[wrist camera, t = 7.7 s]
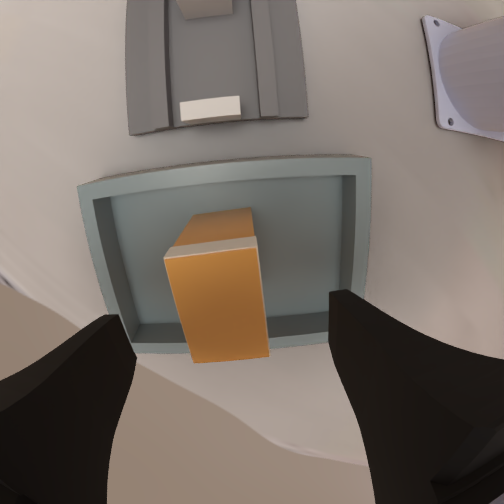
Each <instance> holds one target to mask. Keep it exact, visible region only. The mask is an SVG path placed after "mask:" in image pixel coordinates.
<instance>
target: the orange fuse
mask: <svg viewBox="0 0 504 504" xmlns="http://www.w3.org/2000/svg"><path fill="white" fill-rule="evenodd" d="M163 259H164V263H165V267H166V271H167V275H168V278H169V282H170V286H171V290H172V294H173V297H174V301H175V304H176V308H177V311H178V315H179V318H180V322H181V325H182V328H183V332H184V335H185V338H186V341H187V344H188V348H189V351H190V354H191V357H192V360H193V363H208V362H221V361H233V360H244V359H253V358H262V357H269V356H271V355H270V347H269V338H268V329H267V321H266V312H265V304H264V296H263V287H262V279H261V271H260V262H259V254H258V246H257V239H256V236H255V235H254V228H253V220H252V212H251V207H247V208H239V209H232V210H224V211H217V212H210V213H203V214H196V215H193V216H192V217H191V219H190V220H189V222H188V223H187V225H186V227H185V228H184V230H183V231H182V233H181V234H180V236H179V237H178V239H177V241H176V242H175V244H174V245H173V247H170V248H169V250H168V251H167V253H166V254H165V256H164V257H163Z"/></svg>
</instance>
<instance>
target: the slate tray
mask: <svg viewBox="0 0 504 504" xmlns="http://www.w3.org/2000/svg"><path fill="white" fill-rule="evenodd" d="M371 186H372V163H371V158H368V157H362V156H356V155H291V156H271V157H255V158H241V159H230V160H219V161H209V162H200V163H192V164H184V165H176V166H169V167H162V168H155V169H149V170H143V171H137V172H131V173H125V174H120V175H115V176H109V177H104V178H100V179H97V180H94V181H91V182H88V183H85V184H82V185H79V186H77V190H78V196H79V202H80V207H81V213H82V218H83V222H84V227H85V232H86V236H87V240H88V244H89V249H90V253H91V256H92V260H93V264H94V268H95V271H96V275H97V278H98V282H99V285H100V288H101V291H102V295H103V298H104V301H105V304H106V307H107V310H108V313H109V315H110V314H119V317H120V319H121V322H122V324H123V327H124V329H125V332H126V334H127V336H128V339H129V341H130V343H131V346H132V348H133V350H134V353H154V354H180V353H190V351H189V348H188V344H187V341H186V338H185V335H184V332H183V328H182V325H181V322H180V318H179V315H178V311H177V308H176V304H175V301H174V297H173V294H172V290H171V286H170V282H169V278H168V275H167V271H166V267H165V263H164V259H163V257H164V256H165V254H166V253H167V251H168V250H169V248H170V247H173V245H174V244H175V242H176V241H177V239H178V237H179V236H180V234H181V233H182V231H183V230H184V228H185V227H186V225H187V223H188V222H189V220H190V219H191V217H192V216H193V215H196V214H203V213H210V212H217V211H224V210H232V209H239V208H247V207H251V212H252V220H253V228H254V235H255V236H256V239H257V246H258V254H259V262H260V271H261V279H262V287H263V296H264V304H265V312H266V321H267V329H268V338H269V347H270V349H275V348H285V347H295V346H303V345H312V344H319V343H327V342H328V324H329V292H330V291H337V290H343V289H348V290H350V291H351V292H353V293H355V294H356V295H358V296H359V297H361V298H362V299H364V293H365V284H366V274H367V264H368V252H369V238H370V220H371Z"/></svg>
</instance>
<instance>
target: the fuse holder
mask: <svg viewBox="0 0 504 504" xmlns="http://www.w3.org/2000/svg"><path fill="white" fill-rule="evenodd" d="M125 71H126V97H127V114H128V127H129V135H131V136H137V135H142V134H147V133H152V132H158V131H164V130H170V129H176V128H183V127H190V126H198V125H206V124H215V123H224V122H235V121H248V120H265V119H293V118H307V117H308V103H307V91H306V80H305V69H304V60H303V51H302V42H301V34H300V26H299V19H298V12H297V5H296V0H127V9H126V34H125Z"/></svg>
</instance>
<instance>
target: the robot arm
mask: <svg viewBox="0 0 504 504" xmlns="http://www.w3.org/2000/svg"><path fill="white" fill-rule="evenodd" d="M422 22H423V27H424V31H425V36H426V41H427V46H428V51H429V57H430V64H431V70H432V78H433V86H434V96H435V108H436V121H437V124H438V126H439V127H440V128H442V129H448V130H453V131H459V132H464V133H469V134H473V135H478V136H482V137H487V138H491V139H495V140H499V141H502V142H504V16H503V17H499V18H495V19H492V20H489V21H485V22H482V23H479V24H476V25H473V26H470V27H467V28H464V29H463V28H460V27H458V26H456V25H453V24H451V23H448V22H446V21H443V20H441V19H438V18H435V17H432V16H430V15H425V16H424V17H422ZM434 23H435V24H436V25H435V24H434ZM448 119H449V120H450V125H449V124H448ZM328 342H329V346H330V350H331V354H332V357H333V361H334V364H335V367H336V369H337V372H338V374H339V377H340V379H341V382H342V384H343V386H344V389H345V391H346V394H347V396H348V398H349V401H350V403H351V406H352V408H353V410H354V413H355V415H356V418H357V421H358V424H359V427H360V431H361V434H362V438H363V442H364V446H365V450H366V455H367V459H368V464H369V468H370V472H371V479H372V484H373V489H374V496H375V503H376V504H504V360H503V359H498V358H493V357H488V356H484V355H480V354H476V353H473V352H469V351H466V350H463V349H460V348H457V347H454V346H451V345H448V344H446V343H443V342H441V341H438V340H436V339H434V338H431V337H429V336H427V335H425V334H422V333H420V332H418V331H416V330H414V329H412V328H411V327H409V326H407V325H405V324H403V323H401V322H399V321H398V320H396V319H394V318H393V317H391V316H389V315H388V314H386V313H384V312H383V311H381V310H379V309H378V308H376V307H375V306H373V305H372V304H370V303H369V302H367V301H365V300H364V299H362V298H361V297H359V296H358V295H356V294H355V293H353V292H351V291H350V290H348V289H343V290H337V291H330V292H329V324H328ZM136 360H137V357H136V355H135V353H134V350H133V348H132V346H131V343H130V341H129V339H128V336H127V334H126V332H125V329H124V327H123V324H122V322H121V319H120V317H119V314H110V315H103V316H101V317H99V318H98V319H96V320H95V321H93V322H92V323H90V324H89V325H87V326H86V327H84V328H83V329H82V330H80V331H79V332H77V333H76V334H75V335H73V336H72V337H71V338H69V339H68V340H66V341H65V342H64V343H62V344H61V345H60V346H58V347H57V348H55V349H54V350H53V351H51V352H49V353H48V354H47V355H45V356H44V357H42V358H41V359H39V360H38V361H36V362H35V363H33V364H31V365H30V366H28V367H26V368H24V369H23V370H21V371H19V372H17V373H15V374H13V375H11V376H9V377H7V378H5V379H3V380H1V381H0V504H107V479H108V469H109V460H110V454H111V448H112V443H113V438H114V434H115V430H116V427H117V424H118V421H119V418H120V415H121V412H122V409H123V406H124V404H125V401H126V398H127V395H128V392H129V389H130V386H131V384H132V380H133V375H134V371H135V366H136Z"/></svg>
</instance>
